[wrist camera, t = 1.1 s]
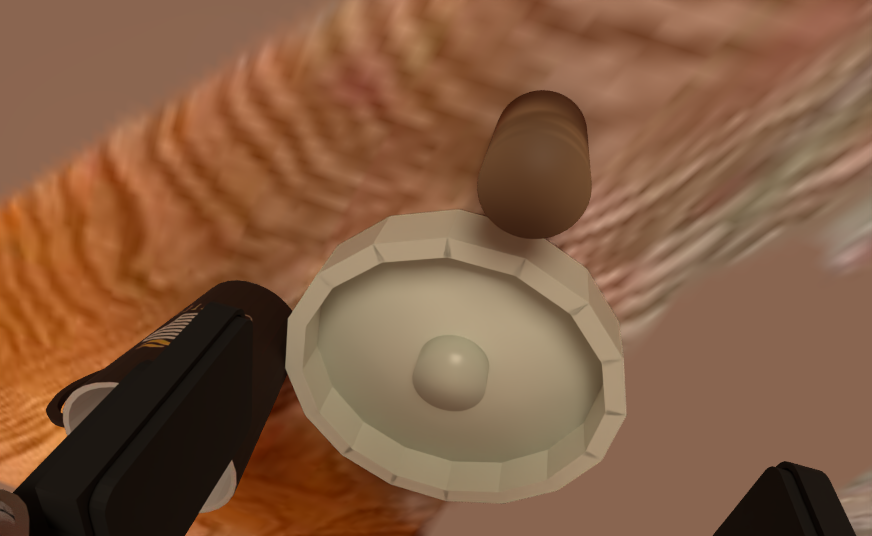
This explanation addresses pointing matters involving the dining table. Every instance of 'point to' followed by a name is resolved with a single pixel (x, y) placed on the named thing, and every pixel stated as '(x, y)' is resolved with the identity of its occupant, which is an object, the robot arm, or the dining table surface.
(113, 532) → the robot arm
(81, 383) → the coffee mug
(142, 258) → the dining table surface
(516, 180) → the cylinder
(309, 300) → the tray
